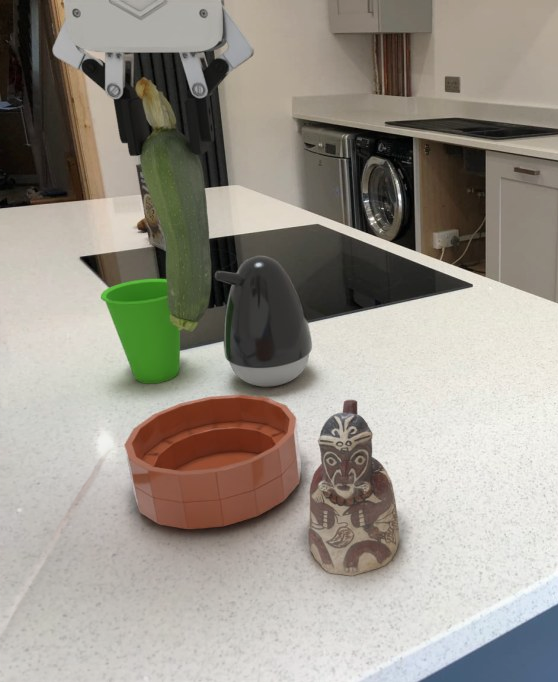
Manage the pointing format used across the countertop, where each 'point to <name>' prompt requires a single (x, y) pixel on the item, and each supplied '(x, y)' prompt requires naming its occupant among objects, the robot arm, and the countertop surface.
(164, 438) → the bowl
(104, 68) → the robot arm
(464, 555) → the countertop surface
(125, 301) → the cup
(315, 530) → the figurine
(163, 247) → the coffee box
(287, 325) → the pump dispenser
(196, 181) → the vegetable
